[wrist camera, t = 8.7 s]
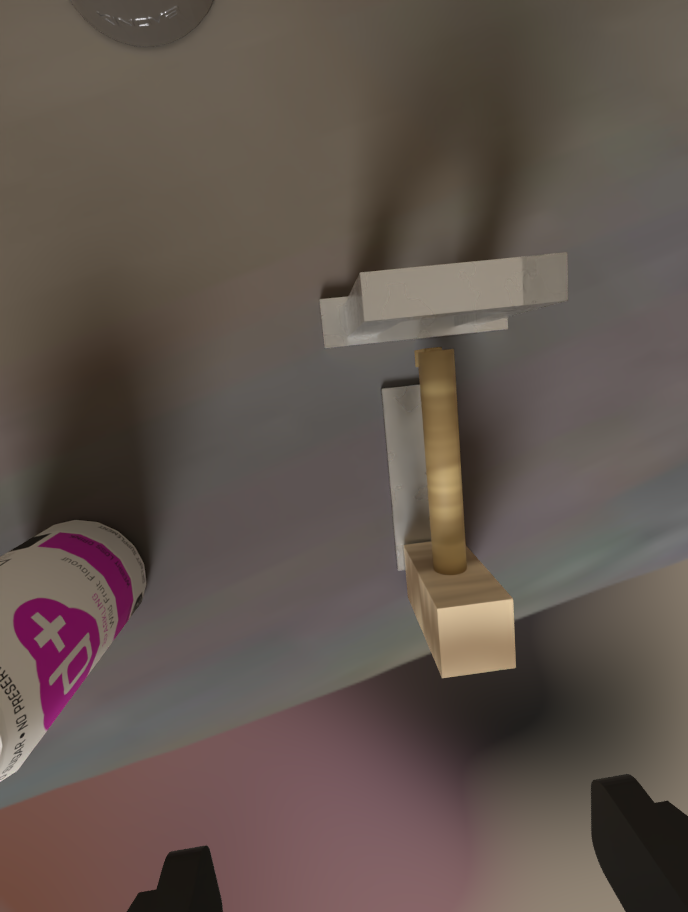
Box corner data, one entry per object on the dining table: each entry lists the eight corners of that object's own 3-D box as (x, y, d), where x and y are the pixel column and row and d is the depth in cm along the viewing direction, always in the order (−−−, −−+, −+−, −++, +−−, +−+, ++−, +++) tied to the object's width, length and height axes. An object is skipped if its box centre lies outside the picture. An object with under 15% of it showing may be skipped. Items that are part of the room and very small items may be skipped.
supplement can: (141, 512, 32) (-3, 633, 17) (155, 623, 34) (33, 820, 19) (18, 520, 32) (-237, 650, 17) (38, 631, 33) (-181, 840, 18)
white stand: (319, 301, 30) (323, 263, 20) (499, 283, 31) (601, 236, 20) (349, 573, 34) (366, 669, 23) (510, 553, 34) (601, 636, 24)
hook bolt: (387, 353, 30) (418, 347, 22) (447, 347, 31) (502, 338, 22) (408, 597, 34) (442, 678, 25) (462, 590, 34) (515, 667, 25)
